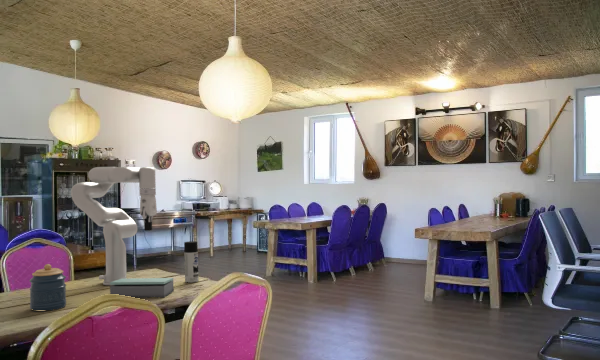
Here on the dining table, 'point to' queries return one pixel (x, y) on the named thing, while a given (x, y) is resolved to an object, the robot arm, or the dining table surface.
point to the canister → (48, 289)
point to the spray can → (191, 261)
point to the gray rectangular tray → (143, 290)
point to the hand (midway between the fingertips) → (148, 230)
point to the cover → (141, 281)
